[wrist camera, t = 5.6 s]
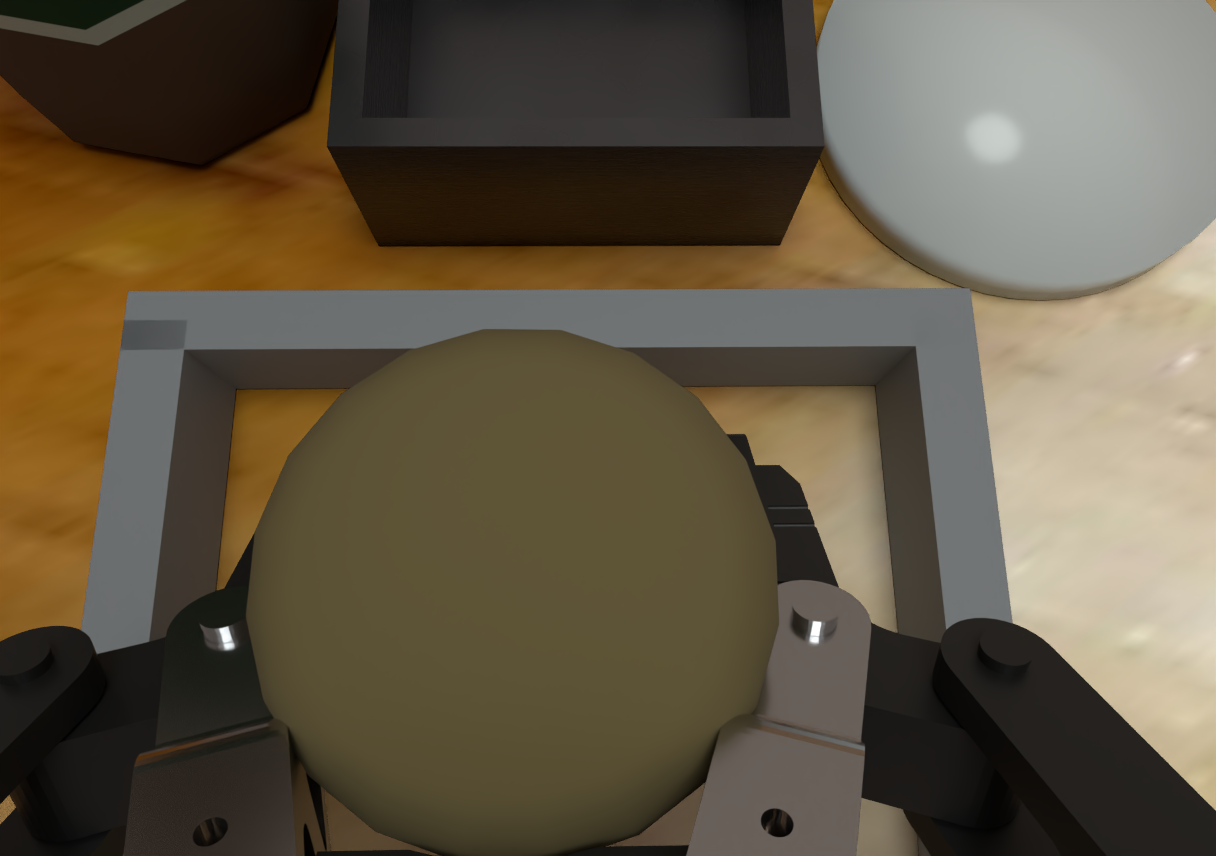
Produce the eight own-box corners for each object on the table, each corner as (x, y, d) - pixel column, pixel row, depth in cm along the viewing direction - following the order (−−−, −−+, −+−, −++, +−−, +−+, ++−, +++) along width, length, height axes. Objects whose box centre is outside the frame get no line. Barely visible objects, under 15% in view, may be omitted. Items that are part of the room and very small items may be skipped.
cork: (499, 428, 19) (378, 130, 8) (752, 557, 18) (976, 415, 8) (352, 686, 17) (-25, 731, 7) (620, 836, 17) (669, 1142, 6)
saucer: (823, 301, 20) (835, 282, 19) (794, -63, 22) (803, -95, 21) (1258, 299, 20) (1292, 281, 19) (1180, -61, 22) (1207, -94, 21)
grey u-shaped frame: (115, 932, 16) (31, 980, 14) (186, 337, 19) (128, 290, 17) (987, 917, 17) (1055, 962, 14) (923, 334, 20) (970, 288, 17)
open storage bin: (378, 245, 20) (326, 146, 16) (399, -84, 22) (358, -240, 18) (779, 244, 20) (824, 146, 16) (758, -82, 22) (792, -236, 19)
